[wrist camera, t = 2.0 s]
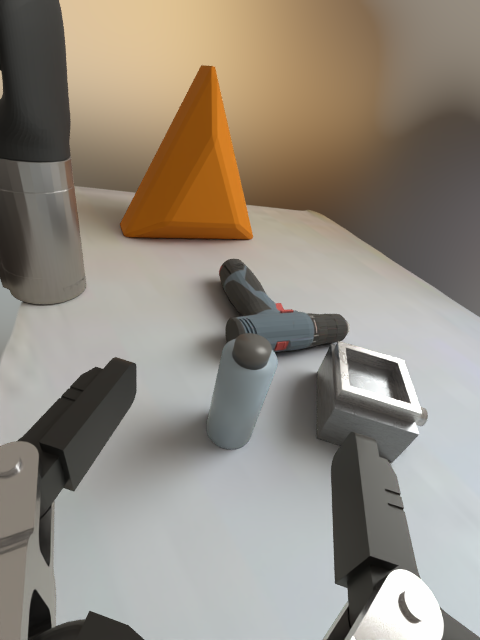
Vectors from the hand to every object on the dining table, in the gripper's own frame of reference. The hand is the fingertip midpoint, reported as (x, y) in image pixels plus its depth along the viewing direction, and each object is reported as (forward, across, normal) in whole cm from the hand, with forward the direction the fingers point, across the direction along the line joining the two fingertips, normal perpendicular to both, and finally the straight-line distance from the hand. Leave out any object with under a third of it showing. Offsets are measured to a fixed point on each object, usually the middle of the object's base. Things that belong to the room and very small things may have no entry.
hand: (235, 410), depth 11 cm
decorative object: (+58, +21, +17) cm, 64 cm away
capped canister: (+12, 0, +17) cm, 21 cm away
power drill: (+34, -1, +18) cm, 38 cm away
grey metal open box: (+18, -14, +17) cm, 29 cm away
